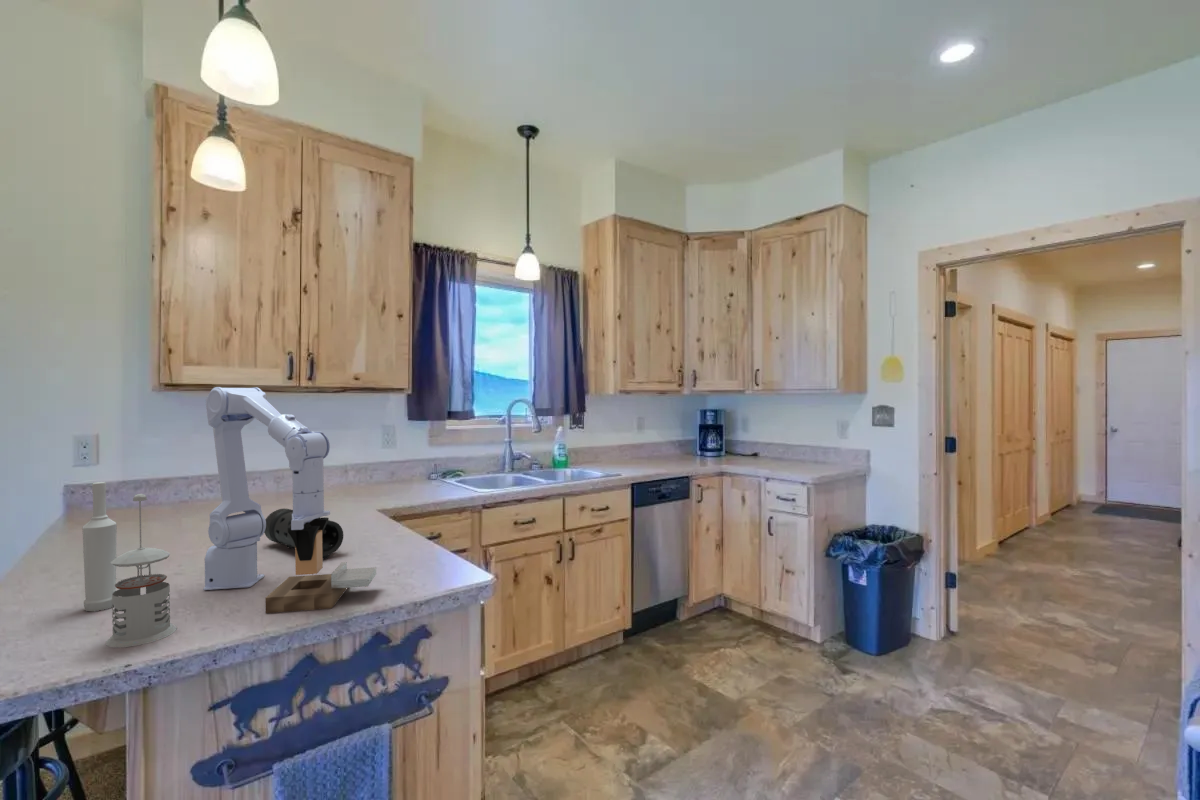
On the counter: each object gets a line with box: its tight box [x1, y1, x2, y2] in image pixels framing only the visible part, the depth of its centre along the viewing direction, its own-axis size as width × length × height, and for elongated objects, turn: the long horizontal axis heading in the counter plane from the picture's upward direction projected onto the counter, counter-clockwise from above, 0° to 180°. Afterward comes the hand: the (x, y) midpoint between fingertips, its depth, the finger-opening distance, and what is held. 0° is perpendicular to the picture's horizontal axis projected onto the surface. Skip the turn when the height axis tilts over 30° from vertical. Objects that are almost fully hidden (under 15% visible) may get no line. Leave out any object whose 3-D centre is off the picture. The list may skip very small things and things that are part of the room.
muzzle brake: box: [264, 507, 344, 560], centre depth 153 cm, size 10×28×10 cm, turn 53°
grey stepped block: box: [330, 561, 377, 589], centre depth 118 cm, size 7×8×3 cm
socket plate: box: [264, 573, 347, 614], centre depth 116 cm, size 12×13×3 cm
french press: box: [105, 493, 178, 648], centre depth 100 cm, size 10×12×25 cm
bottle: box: [81, 481, 118, 612], centre depth 113 cm, size 5×5×25 cm
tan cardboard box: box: [294, 530, 324, 576], centre depth 116 cm, size 4×4×8 cm
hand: (309, 556), depth 116 cm, fingers closed on tan cardboard box, 4 cm apart
